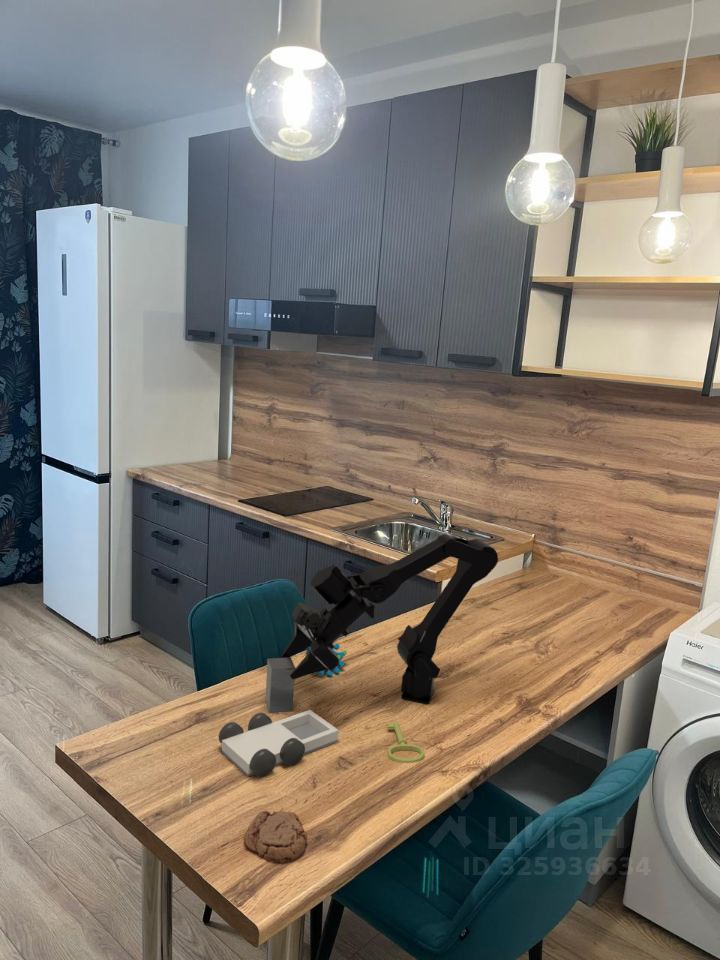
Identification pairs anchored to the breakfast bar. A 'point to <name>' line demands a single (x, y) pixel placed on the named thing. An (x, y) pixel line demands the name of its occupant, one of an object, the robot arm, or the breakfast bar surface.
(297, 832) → the cookie
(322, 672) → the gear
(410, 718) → the breakfast bar surface
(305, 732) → the chassis
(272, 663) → the block
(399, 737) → the key
